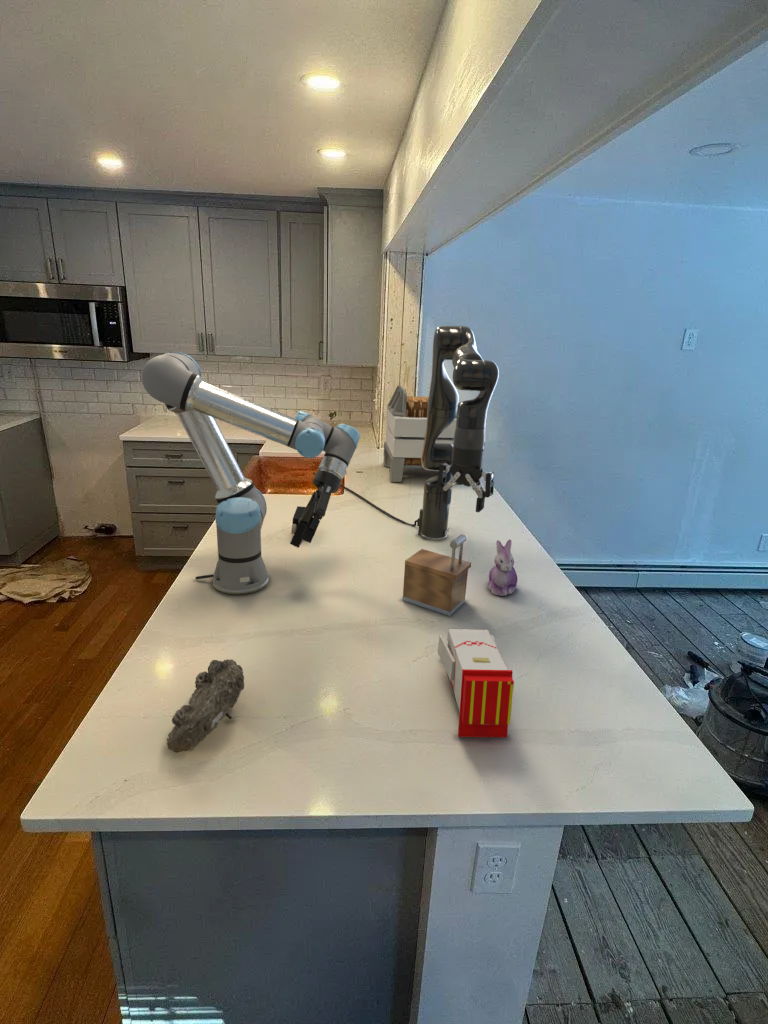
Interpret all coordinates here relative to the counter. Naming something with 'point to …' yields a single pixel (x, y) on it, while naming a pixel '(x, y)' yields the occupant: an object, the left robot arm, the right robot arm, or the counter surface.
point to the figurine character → (297, 518)
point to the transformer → (408, 432)
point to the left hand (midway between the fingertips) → (299, 543)
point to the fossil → (206, 705)
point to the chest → (434, 590)
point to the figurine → (503, 571)
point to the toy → (478, 682)
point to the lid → (441, 560)
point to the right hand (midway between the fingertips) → (462, 507)
